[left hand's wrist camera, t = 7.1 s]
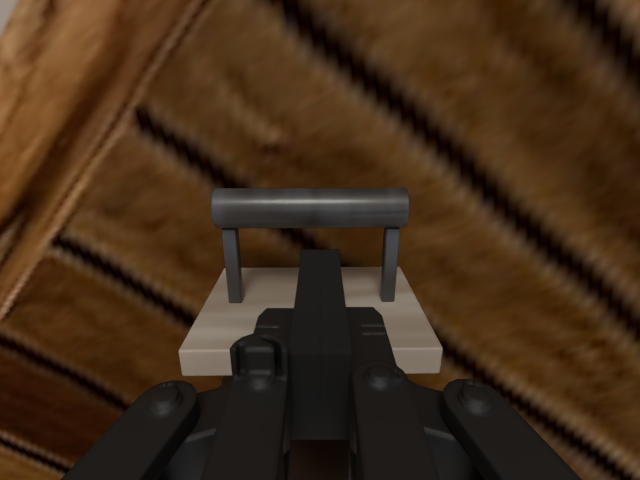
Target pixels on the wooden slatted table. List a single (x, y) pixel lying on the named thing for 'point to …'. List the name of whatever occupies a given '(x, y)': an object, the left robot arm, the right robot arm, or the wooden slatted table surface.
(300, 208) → the drawer
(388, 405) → the left robot arm
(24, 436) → the wooden slatted table surface
